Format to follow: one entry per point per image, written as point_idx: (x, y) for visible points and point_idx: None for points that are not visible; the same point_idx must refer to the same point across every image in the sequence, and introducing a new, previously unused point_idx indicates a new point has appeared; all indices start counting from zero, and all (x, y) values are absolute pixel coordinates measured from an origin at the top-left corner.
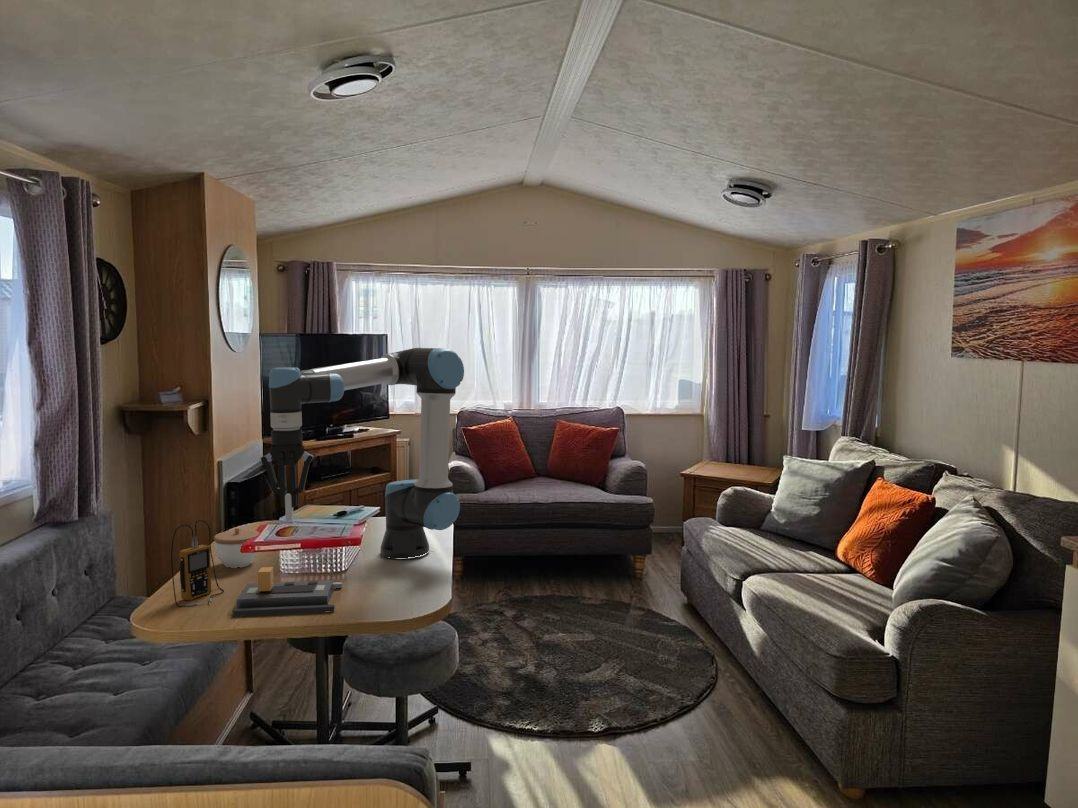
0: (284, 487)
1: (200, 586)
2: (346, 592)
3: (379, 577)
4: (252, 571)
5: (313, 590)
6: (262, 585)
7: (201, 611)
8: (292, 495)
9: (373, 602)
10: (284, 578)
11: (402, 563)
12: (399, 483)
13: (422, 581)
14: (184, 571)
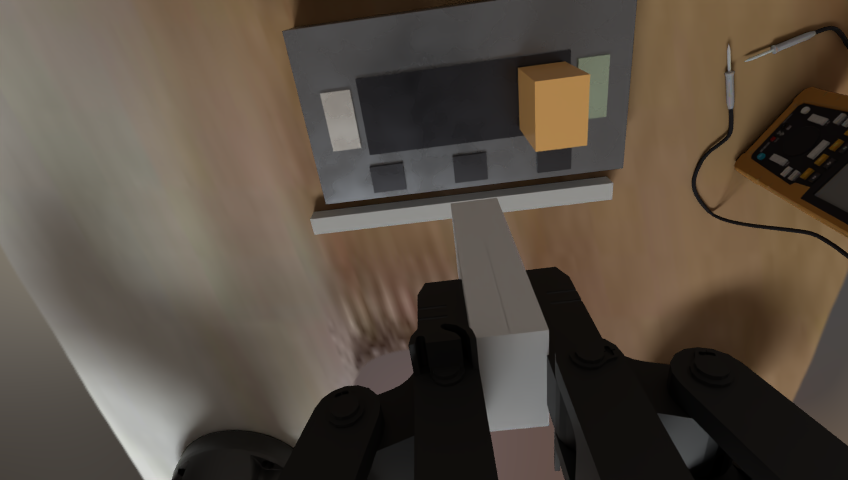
0: (588, 429)
1: (789, 142)
2: (285, 180)
3: (236, 308)
4: (627, 348)
5: (358, 93)
6: (554, 66)
7: None
8: (445, 326)
9: (149, 82)
10: None
11: (219, 408)
12: None
13: (87, 277)
14: None
